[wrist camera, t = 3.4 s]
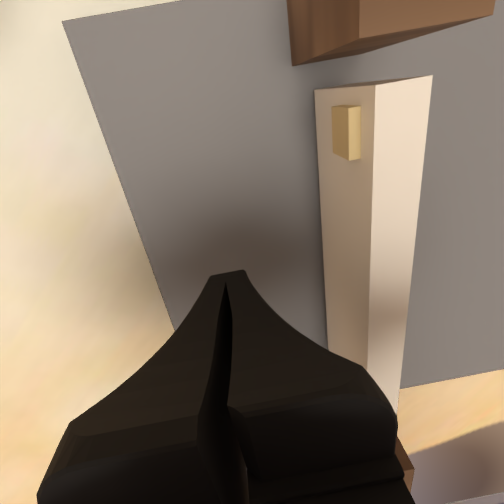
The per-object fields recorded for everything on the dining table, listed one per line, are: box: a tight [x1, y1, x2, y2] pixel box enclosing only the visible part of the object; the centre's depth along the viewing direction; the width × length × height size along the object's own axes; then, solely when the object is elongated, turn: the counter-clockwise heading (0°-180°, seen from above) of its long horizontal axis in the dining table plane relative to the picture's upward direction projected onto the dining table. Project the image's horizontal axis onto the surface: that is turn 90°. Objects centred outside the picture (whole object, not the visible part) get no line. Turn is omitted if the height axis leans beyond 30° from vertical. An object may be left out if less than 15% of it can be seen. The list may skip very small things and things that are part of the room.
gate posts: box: [286, 0, 496, 492], centre depth 11 cm, size 19×2×6 cm, turn 9°
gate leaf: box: [314, 75, 433, 415], centre depth 11 cm, size 13×2×5 cm, turn 9°
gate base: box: [62, 0, 504, 389], centre depth 14 cm, size 20×22×1 cm
